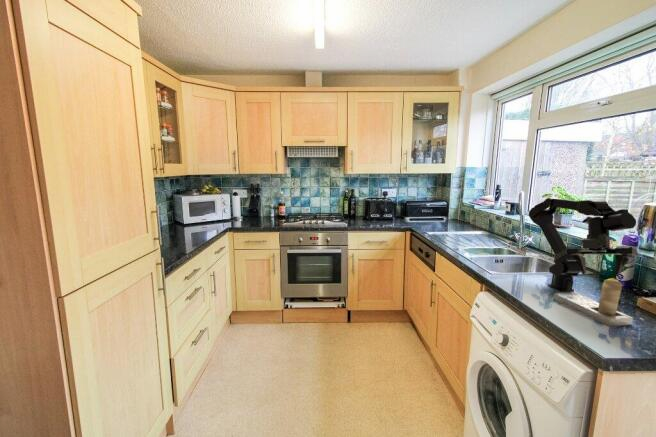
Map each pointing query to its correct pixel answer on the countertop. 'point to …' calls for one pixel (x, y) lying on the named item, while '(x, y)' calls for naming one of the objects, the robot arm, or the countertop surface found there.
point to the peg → (609, 297)
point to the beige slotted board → (591, 309)
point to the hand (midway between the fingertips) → (600, 275)
